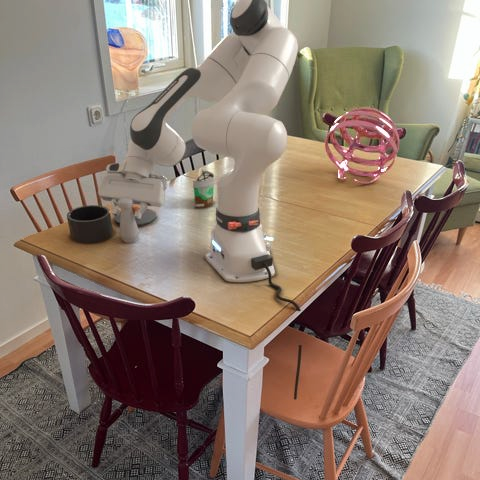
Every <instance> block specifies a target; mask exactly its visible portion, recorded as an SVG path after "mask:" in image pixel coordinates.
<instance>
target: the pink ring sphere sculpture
mask: <svg viewBox="0 0 480 480" xmlns="http://www.w3.org/2000/svg"><path fill="white" fill-rule="evenodd" d="M360 116H363V117H367V118H372V119H373V120H377V121H379V122H381V123H382V124H383V125H384V126H383V128H382V127H381V126H379V125H377V124H375V123H372V122H370V121H365V120H362V119H361V120H360V119H359V118H360ZM349 117H352V118H351V119H350V120H347V119H348V118H349ZM347 127H348V128H349V127H352V128H353V130H354V131H355V132H356V133H357V135H356V137H354V138H353V137H352V136H351V135H350V133H349V132H348V131H347ZM337 130H339V132H340V135H341V138H342V139H343V140H344V141H345V142H346V143H347V144H348V148H347V149H344V147H342V146H341V145H340V143H339V142H338V140H337V138H336V134H335V131H337ZM390 130H391V132H392V136H391V134H389V132H390ZM329 138H330V139H329ZM361 138H365V139H366V138H367V139H370V140H377V139H378V140H379V145H368V144H364V143H361V142H360V140H361ZM329 140H330V143H331V145H332V147H333V149H334V150H335V151H336V152H337V153H338V154H339V155H340V156H341V158H342V160H341V161H340V160H339V159H337V157H335V155H334V153H332V151H331V149H330V146H329ZM384 140H385V141H386V142H385V141H384ZM400 141H401V140H400V136H399V132H398V130H397V126H396V124H395V123H394V121H393V120H392V118H391V117H389V115H387V114H386V113H384V112H383V111H381V110H379V109H377V108H373V107H357V108H353V109H350V110H349V111H347V112H346V113H344V114H342V115H340V116H339V117H338V118H336V119H335V121H334V122H333V124H332V125H331V128H330V129H329V131H328V132H327V134H326V136H325V140H324V147H325V152H326V154H327V156H328V158H329V159H330V160H331V162H332V163H333V164H334V165H335V166H336V167H337V168H338V172H337V177H338V179H339V181H342V182H345V181H346V180H347V177H344V174H345V173H349V174H351V175H354V176H360V177H372V178H371V179H370V180H369V181H361V180H358V179H355V178H354V179H353V181H354V182H355V183H357V184H359V185H363V186H364V185H370V184H372V183H374V182H376V181H377V180H378V179H379V178H380V176H382V175H383V174H385V173H387V172H388V171H389V170H390V169H391V168H393V166H394V164H395V163H396V161H397V159H398V158H397V157H398V152H399V150H400V146H401V145H400ZM390 148H391V150H392V153H390V154H389V155H387V151H388V150H389V149H390ZM356 150H358V151H361V152H364V153H369V154H373V153H374V154H376V153H379V155H380V157H379V158H377V159H369V158H368V159H367V158H361V157H358V156H355V154H354V151H356ZM390 161H391V162H390ZM350 162H351V163H354V164H358V165H361V166H366V167H374V166H375V167H376V166H377V167H378V168H377V169H376V170H372V171H369V170H368V171H367V170H360V169H356V168H352V167H350V166H349V163H350ZM389 162H390V164H388V165H387V166H386V164H387V163H389ZM385 166H386V167H385Z"/></svg>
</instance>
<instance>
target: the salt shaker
mask: <svg viewBox="0 0 480 480" xmlns="http://www.w3.org/2000/svg"><path fill="white" fill-rule="evenodd" d="M132 206H133V201H132V199H130V198H121V199H119V200H118V205H117V207H118V208H119V209H120V211H121V217H120V224H119V237H120V238H121V239H122V241H123V242H124V243H127V244H131V243H135V242H136V241H138V239H139V235H140V230H139V226H137V224H136V220H135V217H134V214H133V211H132V208H131V207H132Z"/></svg>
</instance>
